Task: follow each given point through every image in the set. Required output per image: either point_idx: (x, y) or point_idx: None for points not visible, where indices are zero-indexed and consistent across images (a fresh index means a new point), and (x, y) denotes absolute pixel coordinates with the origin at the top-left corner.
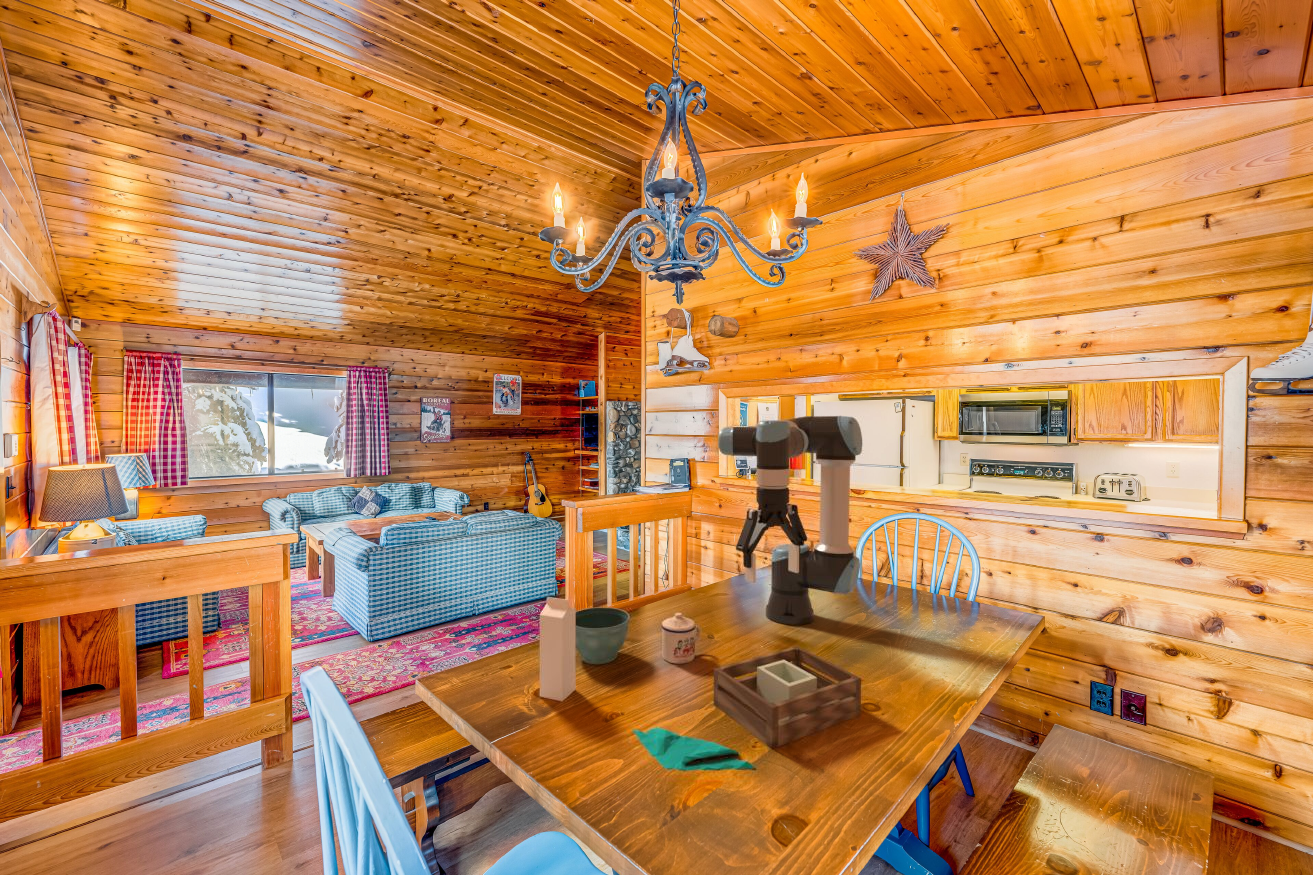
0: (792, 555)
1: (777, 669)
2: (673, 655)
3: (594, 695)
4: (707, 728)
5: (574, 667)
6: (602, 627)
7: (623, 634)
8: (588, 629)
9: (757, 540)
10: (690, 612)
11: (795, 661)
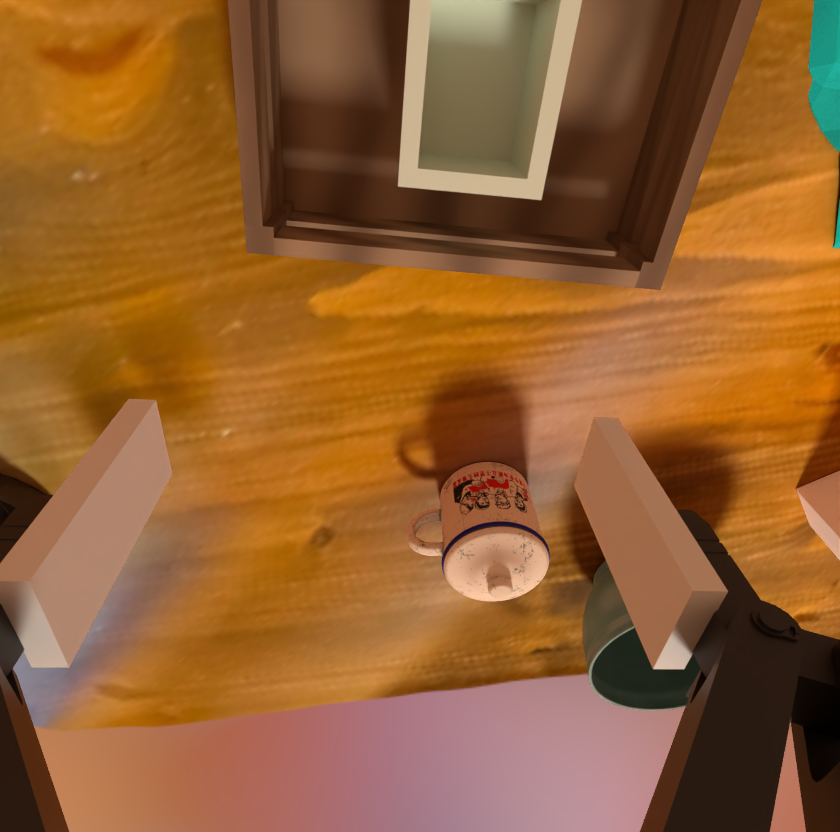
0: (107, 534)
1: (450, 167)
2: (526, 489)
3: (790, 448)
4: (745, 153)
5: (836, 525)
6: (603, 649)
7: None
8: None
9: (739, 747)
10: (273, 650)
11: (283, 222)
